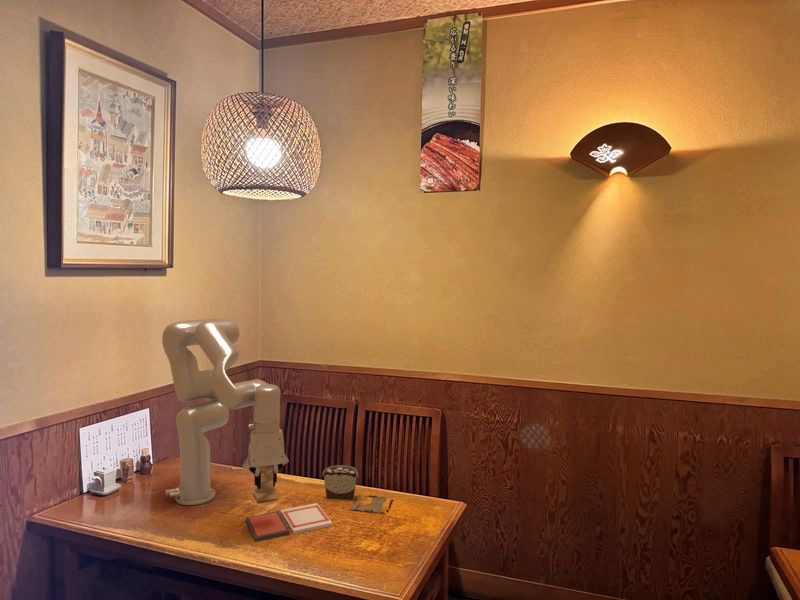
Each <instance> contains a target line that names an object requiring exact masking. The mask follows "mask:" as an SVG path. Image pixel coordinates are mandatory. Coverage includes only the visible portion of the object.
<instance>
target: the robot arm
mask: <svg viewBox="0 0 800 600" xmlns="http://www.w3.org/2000/svg"><path fill="white" fill-rule="evenodd" d="M161 336H162V337H161V339H162V340H161V341H162V347H163V350H164V353H165V355H166V357H167V360H168V362H169V366H170V370H171V371H170V372H171V376H172V381H173V386H174V391H175V394H176V397H177V399H178V401H180V402H182V403H188V402H189V403H190V402H194V401H199V400H204V399H205V400H206V402H205V401H204V402H201V403H197V404H191V405H188V406H185V407H183V408H182V409H181V410H179V411H178V413H177V415H176V419H175V422H176V423H175V424H176V428H177V432H178V433H177V434H178V441H179V468H180V469H179V477H180V483H179V484H178V486H177V487H175V488H169V489H165V496H166V497H167V496H169V497H170V498H173V497H175V501H176V503H177V504H179V505H183V506H196V505H197V506H198V505H201V504H204V503H208V502H209V501H212V500H213V499H214V498H215V497H216V490H215V489H214V488H213V487H211V443H210V441H209V440H208V438H207V437H206V436H205V433H206V432H208V431H212V430H215V429H218V428H221V427H223V426H225V425H226V424H227V423H228V421H229V419H230V417H229V416H230V413H229V409H230V410H239V409H243V408H247V407H251V406H253V421H252V423H251V424H248V426H247V427H248V430H251V432H250V434H249V435H250V436H249V442H248V450H247V451H248V452H247V456H246V458H245V460H244V462H243V463H242V468H243V469H244V470H247V471H249V472H250V473H251V474H253V475H254V480H253V481H254V483H253V484H254V487H257V488H258V489H260V488H261V476H260V467H265V466H272V465H273V487H275V488H276V483H277V482H278V481H277V480H278V473H279V471H280V470H281V469H282V468H283V467H284V466H286V464H287V463H289V461H290V460H289V459H288V457H287V455H286V454H285V442H284V441H285V439H284V433H283V430H282V429H281V428H280V423H281V422H280V419H281V418H280V417H281V416H280V412H281V390H280V387H279V386H278V385H276V384H272V383H267V382H266V381H264V380H262V379H257V378H256V379H251V380H245V381H241V382H236V383H233V382H232V381H231V380H230V378H229V376H228V375H227V372H226V371H228V370H229V369H230V368H231V367H233V365H235V364H236V363H237V361H238V359H239V357H240V354H239V351H238V349H237V348H236V347H235V345H234V344H235V343H236V342H237V341H238V339H239V338H240V329H239V326H238V325H237V324H236V323H235V321H234V320H232V319H229V318H228V319H226V318H225V319H223V318H221V319H219V318H217V319H216V318H208V319H207V318H205V319H204V318H203V319H193V320H181V321H176V322H172V323H170V324H168V325H167V326H165V328H164V330H163V332H162V335H161ZM198 345H199V346H200V348H201V350H202V351H203V353H204V354H205V355H206V357H207V358H208V360H209V362H211V365H213V369H205V370H200V369H199V365H198V360H197V357H196V355H195V354H194V353H193V352H192V351H191V349H189V348H188V347H191V346H198Z"/></svg>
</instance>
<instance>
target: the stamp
mask: <svg viewBox="0 0 800 600" xmlns="http://www.w3.org/2000/svg"><path fill="white" fill-rule="evenodd" d="M260 476H261V488H260V489H258V488H257V486H253V488H252V489H253V490H252V491H253V492H252V495H253V498H254V499H255V502H256V504H258V505H259V504H264V503H269V502H270V503H271V502H275V501H278V496H279V492H278V490H277V488H276V486H275V487H273V465H272V466H265V467H260Z"/></svg>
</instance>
